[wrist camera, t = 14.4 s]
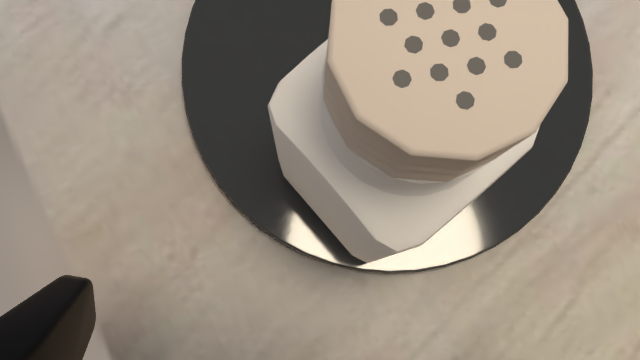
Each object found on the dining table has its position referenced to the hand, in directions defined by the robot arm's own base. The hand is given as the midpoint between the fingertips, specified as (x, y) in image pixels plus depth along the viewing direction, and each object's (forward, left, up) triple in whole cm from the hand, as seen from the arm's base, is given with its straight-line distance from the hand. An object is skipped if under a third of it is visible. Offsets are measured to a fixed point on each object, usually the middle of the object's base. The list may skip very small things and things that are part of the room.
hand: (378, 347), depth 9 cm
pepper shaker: (+2, +3, -7) cm, 9 cm away
